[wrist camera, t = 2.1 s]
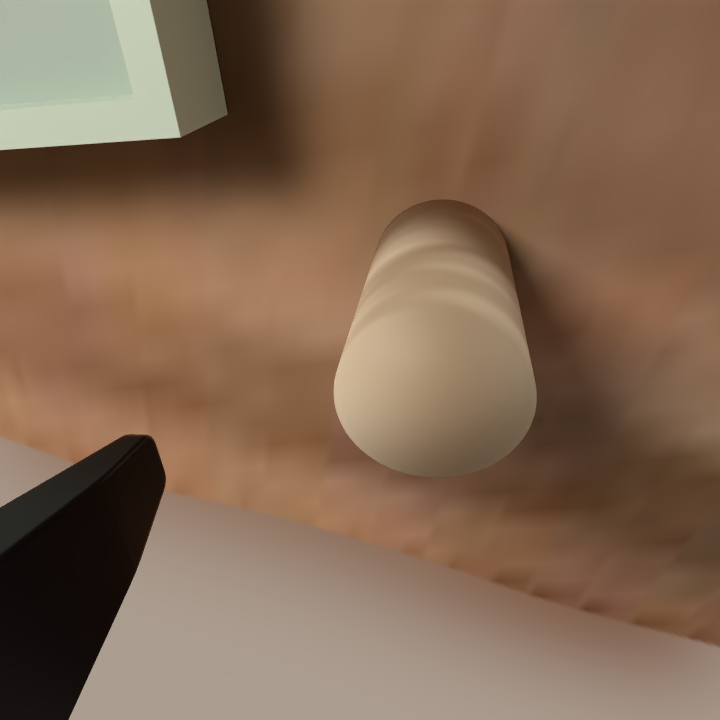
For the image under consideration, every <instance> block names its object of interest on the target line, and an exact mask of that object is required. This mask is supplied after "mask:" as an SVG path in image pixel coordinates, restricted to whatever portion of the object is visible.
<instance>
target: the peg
mask: <svg viewBox="0 0 720 720" xmlns="http://www.w3.org/2000/svg"><path fill="white" fill-rule="evenodd" d="M334 402H335V407H336V412H337V414H338V417H339V420H340V422H341V424H342V426H343V428H344V430H345V431H346V433H347V434H348V435H349V437H350V438H351V440H352V441H353V442H354V443H355V444H356V445H357V446H358V447H359V448H360V449H361V450H362V451H363V452H365V453H366V454H367V455H368V456H370V457H371V458H373V459H374V460H376V461H377V462H379V463H381V464H383V465H385V466H387V467H389V468H391V469H394V470H396V471H399V472H402V473H406V474H409V475H414V476H419V477H428V478H450V477H458V476H463V475H467V474H471V473H474V472H477V471H480V470H483V469H485V468H487V467H489V466H491V465H493V464H495V463H497V462H498V461H500V460H501V459H503V458H504V457H505V456H507V455H508V454H509V453H510V452H512V451H513V450H514V449H515V448H516V446H517V445H518V444H519V443H520V442H521V441H522V439H523V438H524V436H525V435H526V434H527V432H528V430H529V428H530V426H531V424H532V421H533V418H534V415H535V410H536V404H537V390H536V384H535V378H534V374H533V369H532V364H531V359H530V354H529V350H528V345H527V340H526V335H525V330H524V325H523V321H522V316H521V311H520V306H519V301H518V297H517V292H516V287H515V282H514V277H513V272H512V268H511V263H510V258H509V253H508V248H507V245H506V242H505V239H504V237H503V235H502V233H501V231H500V229H499V228H498V227H497V225H496V224H495V223H494V222H493V221H492V219H491V218H490V217H488V216H487V215H486V214H485V213H483V212H482V211H480V210H479V209H477V208H475V207H473V206H471V205H469V204H466V203H463V202H459V201H454V200H432V201H427V202H423V203H420V204H417V205H415V206H412V207H410V208H409V209H407V210H405V211H404V212H402V213H401V214H399V215H398V216H397V217H396V218H395V219H394V220H393V221H392V222H391V223H390V224H389V225H388V227H387V228H386V229H385V231H384V233H383V234H382V236H381V238H380V241H379V243H378V246H377V249H376V252H375V255H374V258H373V261H372V264H371V267H370V270H369V274H368V277H367V280H366V283H365V286H364V289H363V292H362V295H361V298H360V301H359V304H358V307H357V310H356V314H355V317H354V320H353V323H352V326H351V329H350V332H349V335H348V338H347V341H346V344H345V347H344V350H343V354H342V357H341V360H340V363H339V366H338V369H337V373H336V376H335V382H334Z"/></svg>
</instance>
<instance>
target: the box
mask: <svg viewBox="0 0 720 720" xmlns="http://www.w3.org/2000/svg"><path fill="white" fill-rule="evenodd" d="M226 115H228V113H227V108H226V102H225V97H224V91H223V86H222V81H221V75H220V70H219V64H218V59H217V54H216V48H215V43H214V37H213V32H212V27H211V21H210V16H209V10H208V5H207V0H0V150H8V149H22V148H37V147H51V146H65V145H80V144H94V143H108V142H123V141H137V140H151V139H166V138H180V137H183V136H185V135H187V134H189V133H191V132H193V131H195V130H197V129H199V128H201V127H203V126H205V125H207V124H209V123H211V122H213V121H215V120H217V119H220V118H222V117H224V116H226Z"/></svg>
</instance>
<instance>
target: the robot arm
mask: <svg viewBox="0 0 720 720" xmlns="http://www.w3.org/2000/svg"><path fill="white" fill-rule="evenodd" d="M165 483H166V476H165V471H164V468H163V465H162V462H161V459H160V456H159V453H158V450H157V447H156V444H155V441H154V439H153V438H152V437H151V436H149V435H134V434H130V435H124V436H122V437H121V438H119V439H117V440H115V441H114V442H112V443H110V444H109V445H107V446H105V447H103V448H102V449H100V450H98V451H97V452H95V453H93V454H91V455H90V456H88V457H86V458H85V459H83V460H81V461H79V462H78V463H76V464H74V465H73V466H71V467H69V468H67V469H66V470H64V471H62V472H61V473H59V474H57V475H55V476H54V477H52V478H50V479H49V480H47V481H45V482H43V483H42V484H40V485H38V486H37V487H35V488H33V489H31V490H30V491H28V492H26V493H25V494H23V495H21V496H19V497H18V498H16V499H14V500H12V501H11V502H9V503H7V504H6V505H4V506H2V507H1V508H0V720H69V717H70V715H71V713H72V711H73V709H74V706H75V704H76V702H77V700H78V698H79V696H80V693H81V691H82V689H83V687H84V684H85V682H86V680H87V678H88V676H89V674H90V672H91V669H92V667H93V665H94V663H95V661H96V659H97V656H98V654H99V652H100V650H101V648H102V645H103V643H104V641H105V639H106V637H107V635H108V632H109V630H110V628H111V626H112V623H113V621H114V619H115V617H116V615H117V613H118V610H119V608H120V606H121V604H122V602H123V600H124V597H125V595H126V593H127V591H128V589H129V586H130V584H131V582H132V580H133V577H134V575H135V573H136V570H137V568H138V565H139V562H140V560H141V557H142V554H143V551H144V548H145V545H146V542H147V539H148V536H149V533H150V530H151V527H152V524H153V521H154V518H155V515H156V512H157V509H158V506H159V503H160V500H161V497H162V495H163V492H164V488H165Z"/></svg>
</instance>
